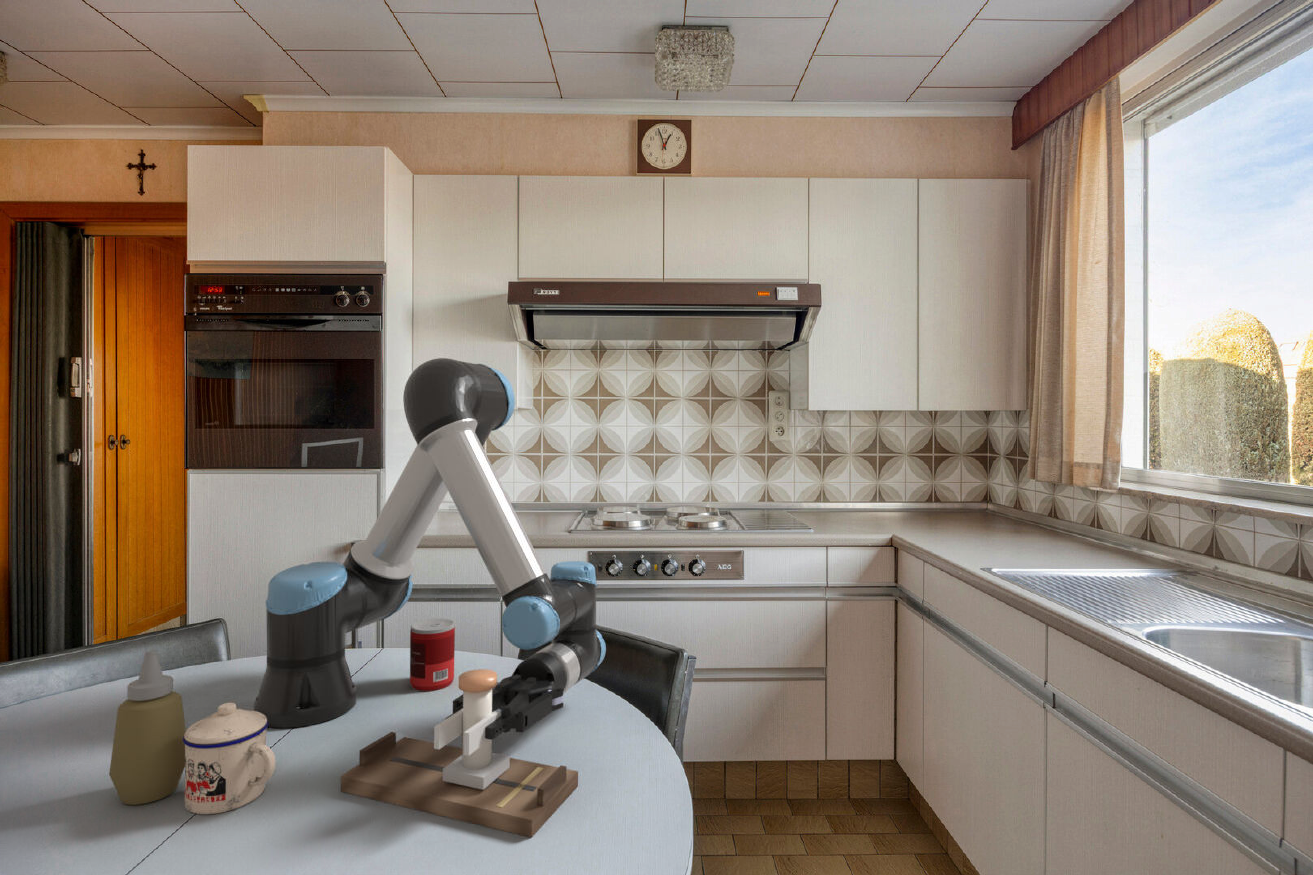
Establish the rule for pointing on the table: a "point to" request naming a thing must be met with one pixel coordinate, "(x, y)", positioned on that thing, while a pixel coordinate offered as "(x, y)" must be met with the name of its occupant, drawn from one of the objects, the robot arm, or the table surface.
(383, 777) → the fader track
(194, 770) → the teacup with lid
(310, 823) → the table surface
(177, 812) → the table surface
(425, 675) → the canned food
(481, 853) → the table surface
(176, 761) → the squeeze bottle
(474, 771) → the fader
